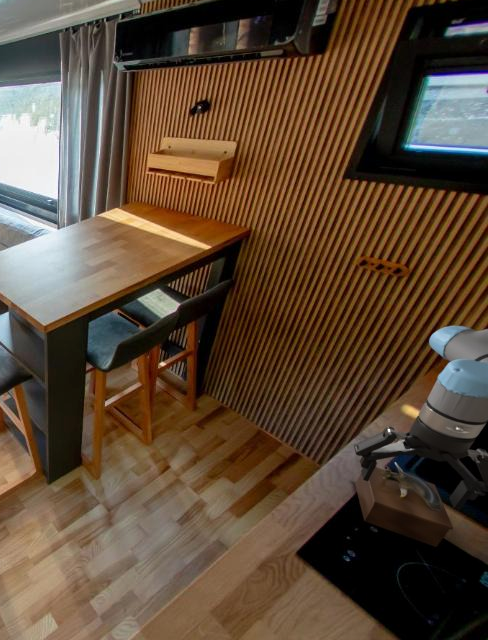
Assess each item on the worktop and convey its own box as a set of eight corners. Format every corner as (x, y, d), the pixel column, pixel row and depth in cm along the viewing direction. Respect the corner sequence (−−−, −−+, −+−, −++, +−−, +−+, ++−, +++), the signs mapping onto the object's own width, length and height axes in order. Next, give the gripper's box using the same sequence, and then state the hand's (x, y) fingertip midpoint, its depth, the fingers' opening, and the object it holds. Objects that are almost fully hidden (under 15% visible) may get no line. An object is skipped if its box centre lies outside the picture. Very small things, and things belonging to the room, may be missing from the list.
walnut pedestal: (421, 504, 88) (434, 484, 85) (438, 548, 80) (453, 528, 77) (353, 483, 95) (363, 463, 91) (363, 521, 87) (374, 501, 84)
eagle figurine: (374, 488, 85) (437, 515, 77) (382, 459, 85) (446, 483, 77) (383, 486, 89) (443, 511, 81) (390, 459, 88) (452, 481, 81)
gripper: (362, 416, 79) (333, 478, 88) (565, 466, 65) (506, 533, 74) (355, 394, 84) (329, 454, 94) (541, 435, 70) (489, 502, 79)
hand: (407, 489), depth 84 cm, fingers open, 13 cm apart
